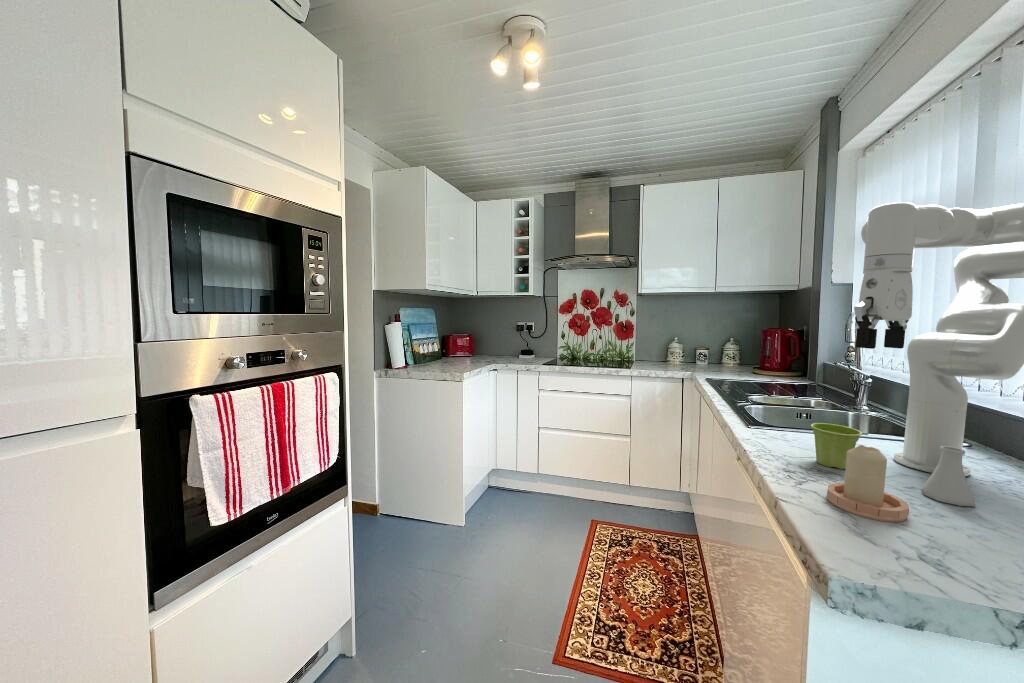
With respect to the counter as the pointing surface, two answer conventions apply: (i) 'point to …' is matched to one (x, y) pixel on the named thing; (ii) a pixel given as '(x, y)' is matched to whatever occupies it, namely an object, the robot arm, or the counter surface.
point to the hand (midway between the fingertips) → (879, 347)
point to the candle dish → (887, 512)
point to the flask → (949, 480)
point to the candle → (865, 475)
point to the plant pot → (834, 443)
